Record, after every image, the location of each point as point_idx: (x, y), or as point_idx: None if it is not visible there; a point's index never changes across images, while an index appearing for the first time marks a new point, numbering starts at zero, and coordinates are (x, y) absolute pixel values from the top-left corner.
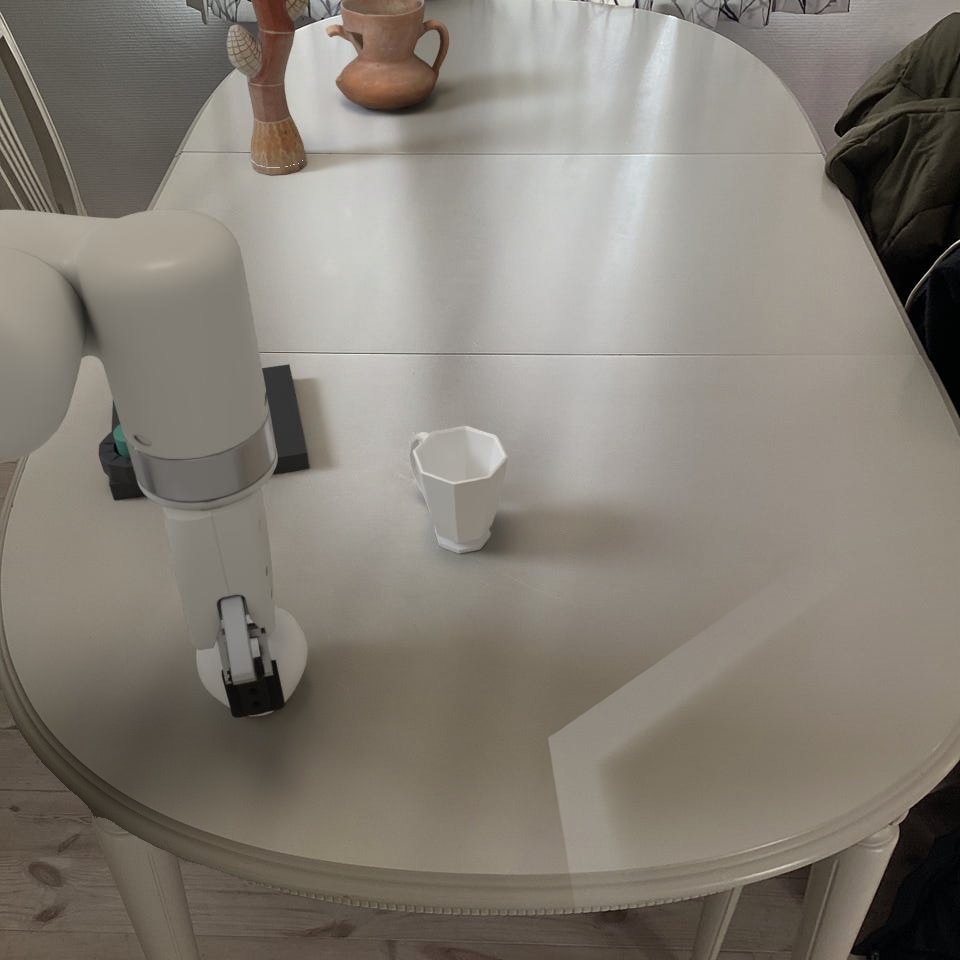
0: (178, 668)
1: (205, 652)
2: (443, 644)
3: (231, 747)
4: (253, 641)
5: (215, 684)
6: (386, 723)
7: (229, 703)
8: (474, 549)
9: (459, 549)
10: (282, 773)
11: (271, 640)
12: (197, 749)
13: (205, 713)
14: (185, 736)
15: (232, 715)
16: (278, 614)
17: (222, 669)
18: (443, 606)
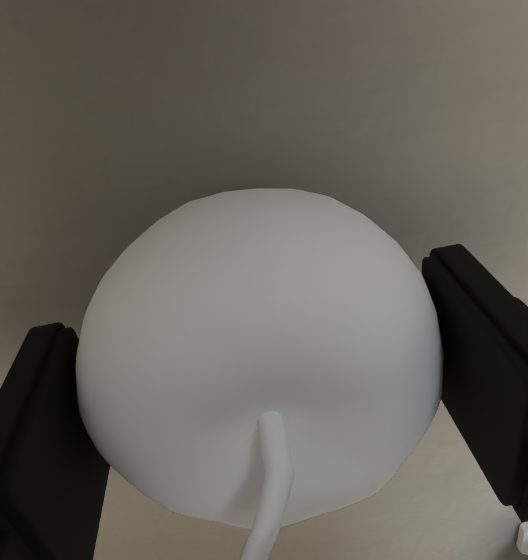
0: (367, 23)
1: (205, 309)
2: (325, 522)
3: (75, 221)
4: (245, 448)
5: (98, 313)
6: None
7: (8, 373)
8: (518, 541)
9: (525, 533)
10: (16, 335)
11: (226, 513)
12: (58, 133)
13: (185, 137)
14: (100, 90)
15: (31, 329)
16: (345, 505)
17: (112, 380)
18: (409, 516)
